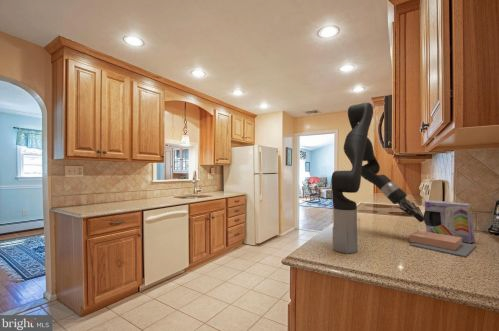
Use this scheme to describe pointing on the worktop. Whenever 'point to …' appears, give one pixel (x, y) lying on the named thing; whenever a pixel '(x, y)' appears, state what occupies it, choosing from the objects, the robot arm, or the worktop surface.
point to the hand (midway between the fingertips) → (423, 220)
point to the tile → (436, 240)
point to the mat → (461, 251)
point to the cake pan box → (450, 219)
